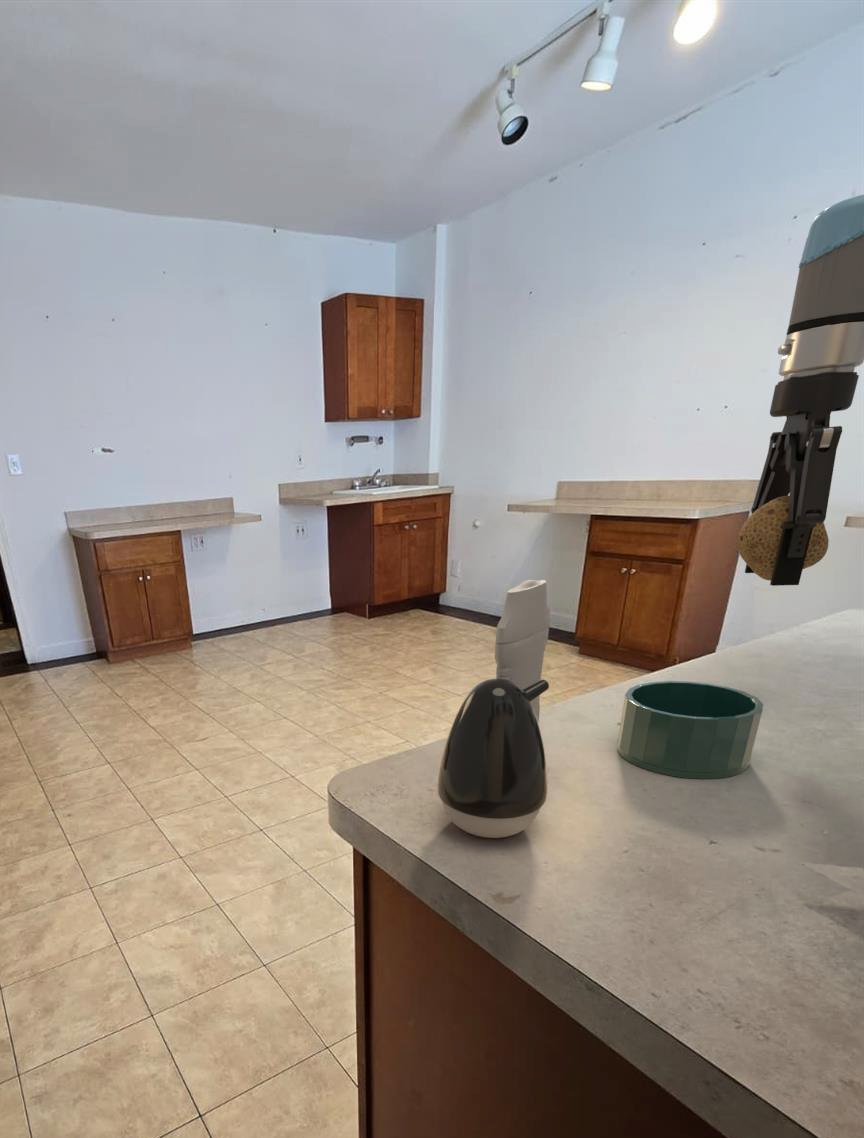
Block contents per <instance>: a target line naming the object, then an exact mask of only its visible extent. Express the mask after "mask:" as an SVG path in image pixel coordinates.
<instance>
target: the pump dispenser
mask: <svg viewBox="0 0 864 1138" xmlns="http://www.w3.org/2000/svg"><path fill="white" fill-rule="evenodd" d="M549 689H550V684H549V682H548V681H547V680H546V679H541V680H540V681H538V682H537V683H535V684H533V685H531V686H529V687H527V688H525V689H523V690H522V689H521V688H520V687H519V686H518V685H517V684H515V683H514V682H512V681H509V680H506V679H500V678H496V677H495V678H490V679H487V680H484V681H482V682H480V683H478V684H477V685H475V686H474V687H473V688H472V689H471V690H470V691H469V693H468V695H467V696H466V697H465V699H464V700H463V702H462V703H461V705H460V707H459V709H458V711H457V713H456V715H455V718H454V720H453V721H452V722H453V723H452V724H451V727H450V730H449V732H448V735H447V738H446V740H445V741H446V742H445V744H444V749H443V752H442V756H441V761H440V766H439V772H438V776H437V777H438V778H437V795H438V797H439V799H440V800H441V804H442V806H443V809H444V811H445V813H446V815H447V817H448V818H449V820H450V821H451V822H452V823H453V824H454V825H455V826H456V827H458V828H459V829H460V830H462V831H464V832H465V833H467V834H471V835H473V836H476V837H481V838H487V839H490V838H491V839H501V838H506V837H511V836H514V835H516V834H519V833H521V832H522V831H524V830H526V828H528V827H529V826H530V825H531V824H532V823H533V822H534V821H535V819H536V818H537V817H538V814H539V812H540V810H541V808H542V807H543V806H544V805H545V803H546V801H547V795H548V775H547V774H548V772H547V757H546V752H545V745H544V740H543V735H542V732H541V727H540V723H539V724H538V721H537V718H536V715H535V712H534V710H533V707H532V705H531V703H530V702H531V701H532V700H534V699H535V698H537V697H538V696H539V695H540V696H541V695H542V694H543V693H545V692H546V691H548V690H549Z"/></svg>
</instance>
